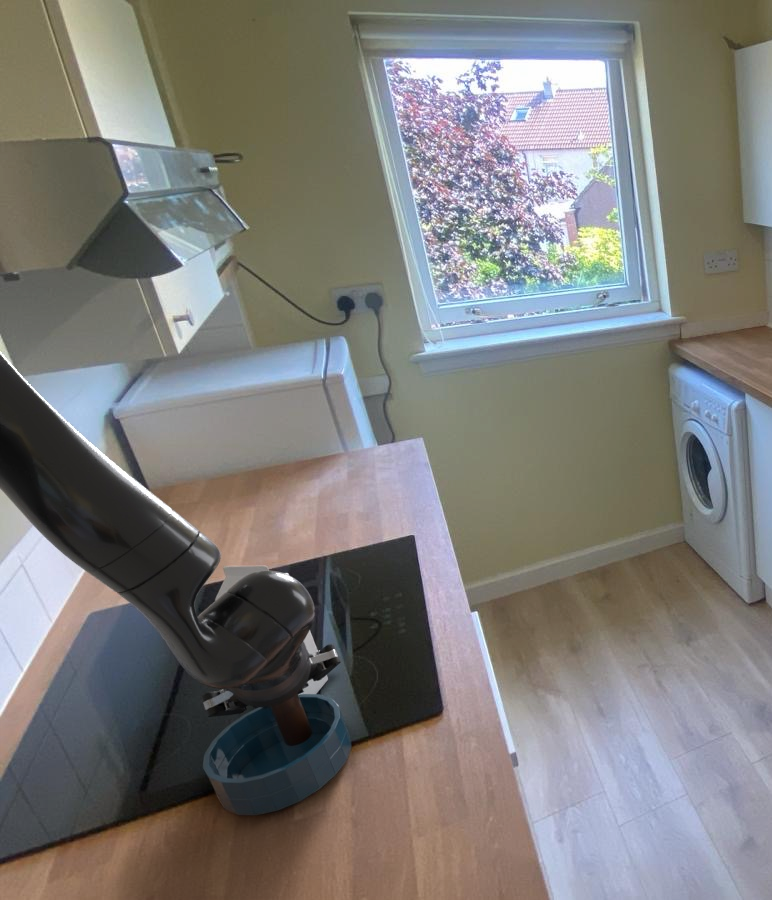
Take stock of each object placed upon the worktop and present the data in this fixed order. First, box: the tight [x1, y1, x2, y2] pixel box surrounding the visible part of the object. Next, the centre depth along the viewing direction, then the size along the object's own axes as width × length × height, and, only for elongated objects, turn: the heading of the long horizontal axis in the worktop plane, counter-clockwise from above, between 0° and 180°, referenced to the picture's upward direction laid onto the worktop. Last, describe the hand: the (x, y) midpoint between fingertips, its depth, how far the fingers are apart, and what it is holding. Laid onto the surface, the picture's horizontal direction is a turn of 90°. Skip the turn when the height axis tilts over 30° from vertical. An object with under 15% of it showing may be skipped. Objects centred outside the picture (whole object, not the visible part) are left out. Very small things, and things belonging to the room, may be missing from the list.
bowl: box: [202, 693, 352, 816], centre depth 92 cm, size 14×14×6 cm
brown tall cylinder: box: [270, 693, 312, 746], centre depth 92 cm, size 3×3×10 cm
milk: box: [214, 565, 329, 695], centre depth 101 cm, size 6×6×22 cm
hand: (281, 692), depth 93 cm, fingers closed on brown tall cylinder, 3 cm apart
